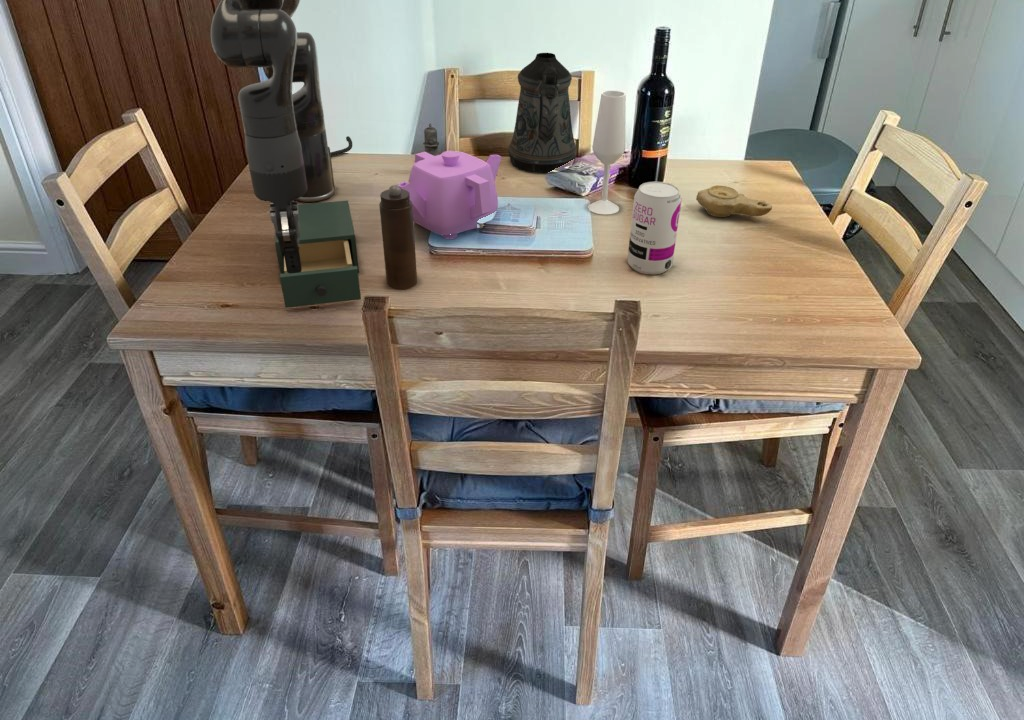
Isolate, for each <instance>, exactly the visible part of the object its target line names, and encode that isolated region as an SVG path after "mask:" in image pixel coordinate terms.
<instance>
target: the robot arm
mask: <svg viewBox="0 0 1024 720" xmlns="http://www.w3.org/2000/svg"><path fill="white" fill-rule="evenodd" d="M300 2H301V0H220V2H219V4H218V5H217V8H216V9H215V12H214V14H213V16H212V21H211V26H210V44H211V47H212V49H213V52H214V54H215V55H216V57H217V58H218V59H219V61H220V62H221V63H222V64H224V65H225V66H227V67H230V68H234V69H248V68H262V70H263V72H264V75H265V77H266V78H267V79H266V80H263V81H260V82H259V81H258V82H255V83H251V84H249V85H246V86H243V87H242V88H241V89H240V90H239V92H238V95H237V98H238V107H239V112H240V117H241V118H240V119H241V122H242V129H243V133H244V144H245V153H246V158H247V164H248V169H249V175H250V180H251V185H252V190H253V195H254V196H255V197H256V199H258V200H260V201H263V202H269V209H270V210H269V217H270V220H271V221H270V222H271V223H273V227H274V234H275V233H276V238H277V239H278V241H279V244H280V251H281V252H282V254H283V253H284V258H285V263H286V269H287V272H288V273H290V274H291V273H300V272H301V271H302V268H301V260H300V254H299V248H300V246H299V240H298V238H299V237H300V229H299V221H298V220H299V214H298V205H299V203H298V202H302V203H317V202H322V201H325V200H328V199H330V198H331V197H333V196H334V193H335V189H336V188H335V187H336V185H335V179H334V178H335V177H334V171H333V163H332V157H334V156H339V155H343V154H345V153H348V152H350V151H351V150H352V149H353V141H352V138H351V137H350V136H349V135H348V136H346V137H345V140H346V142H347V143H348V145H347V147H345V148H342V149H338V150H333V151H331V148H330V146H329V144H328V137H327V136H328V135H327V129H326V128H327V127H326V122H325V115H324V107H323V100H322V94H321V85H320V84H321V83H320V72H319V59H318V58H319V57H318V50H317V45H316V40H315V38H314V37H313V35H312V34H311V33H309V32H306V31H303V32H302V31H298V30H297V27H296V25H295V22H294V20H293V19H292V17H293V16H294V14H295V13H296V11H297V9H298V7H299V5H300ZM297 31H298V32H297ZM295 83H303V86H302V87H301V88H300V89H299V90H297V91H296V92H294V93H293V84H295Z"/></svg>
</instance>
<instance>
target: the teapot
mask: <svg viewBox="0 0 1024 720" xmlns="http://www.w3.org/2000/svg"><path fill="white" fill-rule="evenodd" d="M501 161H502V156H501V155H499V154H489V156H488V159H487V160H486V161H484V160H483V159H481V158H479V157H476V156H474V155H471V154H469V153H466V152H463V151H456V150H445V151H442V152H441V154H439V155H437V156H433V155H431V154H429V153H427V152H425V151H421V152H418V153H415V154H414V163H413V164H412V167H411V170H410V173H409V178H408V181H405V180H403V181H402V182H400V183H398V184H396V185H397V186H399V187H400V189H404V190H407V191H408V192H409V193H410V200H411V201H412V210H413V222H414V223H416V224H417V225H419V226H420V227H422V228H424V229H425V230H428V231H430V232H432V231H433V232H432V233H434V232H435V233H434V234H436V233H437V235H439V234H440V236H441V237H442V238H443V239H445V240H454V239H457V237H458V234H459V233H463V232H467V231H470V230H473V229H474V230H479V229H478V228H477V221H478V220H479V219H481V218H483V217H486V216H488V215H490V214H492V213H494V212H495V211H498V209H499V198H498V191H497V185H496V178H497V176H498V171H499V168H500V165H501ZM450 234H451V235H450Z"/></svg>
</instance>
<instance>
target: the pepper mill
mask: <svg viewBox="0 0 1024 720" xmlns="http://www.w3.org/2000/svg"><path fill="white" fill-rule="evenodd" d="M397 185H398V184H392V185H390V187H388V189H385V190H383V191H382V192H380V195H379V197H380V202H379V205H378V206H379V213H380V214H379V216H380V226H381V235H382V247H383V259H384V268H385V270H384V271H385V279H386V285H387V287H389V288H390V289H392V290H398V291H400V290H401V291H402V290H404V291H405V290H409V289H412V288H414V287H415V286H417V284H418V270H417V257H416V255H417V254H416V244H415V243H416V241H415V226H414V221H413V210H412V201H411V200H410V193H409V192H408V191H407V190H404V189H400V187H399V186H397Z"/></svg>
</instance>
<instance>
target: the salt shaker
mask: <svg viewBox="0 0 1024 720" xmlns="http://www.w3.org/2000/svg"><path fill="white" fill-rule="evenodd" d="M423 135H424V142H423V143H422V144H423V146H424V152H427V153H429V154H431V155H433V156H437V155H440V154H439V145H440V142H439V141H438V130H437V129H436V128H435V127H433V126H432V123H431V122H430V123H429V124H428V127H425V128H424V131H423Z"/></svg>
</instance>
